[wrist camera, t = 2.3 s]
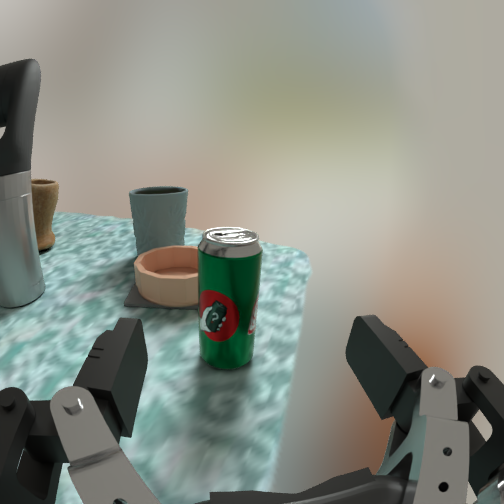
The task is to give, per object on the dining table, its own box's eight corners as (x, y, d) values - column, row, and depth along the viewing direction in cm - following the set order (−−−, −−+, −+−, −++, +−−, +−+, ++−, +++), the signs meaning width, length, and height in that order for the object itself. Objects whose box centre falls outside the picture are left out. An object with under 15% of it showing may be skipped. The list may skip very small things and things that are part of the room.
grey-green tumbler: (198, 254, 50) (199, 189, 46) (159, 272, 41) (156, 195, 37) (160, 243, 54) (159, 185, 50) (121, 257, 46) (117, 191, 42)
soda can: (259, 369, 24) (273, 243, 20) (204, 376, 22) (201, 245, 18) (244, 337, 28) (253, 225, 24) (197, 341, 27) (194, 226, 23)
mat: (124, 305, 31) (123, 303, 31) (143, 270, 42) (143, 268, 41) (227, 309, 33) (227, 306, 33) (224, 272, 43) (224, 270, 43)
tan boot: (66, 249, 47) (60, 176, 42) (16, 260, 39) (7, 185, 34) (59, 232, 57) (55, 174, 52) (19, 241, 49) (13, 181, 44)
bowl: (128, 304, 31) (124, 276, 30) (147, 267, 42) (146, 244, 40) (221, 308, 33) (222, 279, 31) (219, 269, 43) (220, 246, 42)
